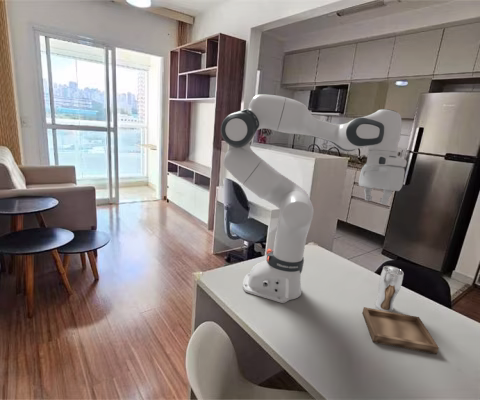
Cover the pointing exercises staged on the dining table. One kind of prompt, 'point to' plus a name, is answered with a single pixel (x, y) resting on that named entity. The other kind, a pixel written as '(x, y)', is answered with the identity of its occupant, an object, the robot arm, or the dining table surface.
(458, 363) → the dining table surface
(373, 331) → the walnut tray
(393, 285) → the beer glass
